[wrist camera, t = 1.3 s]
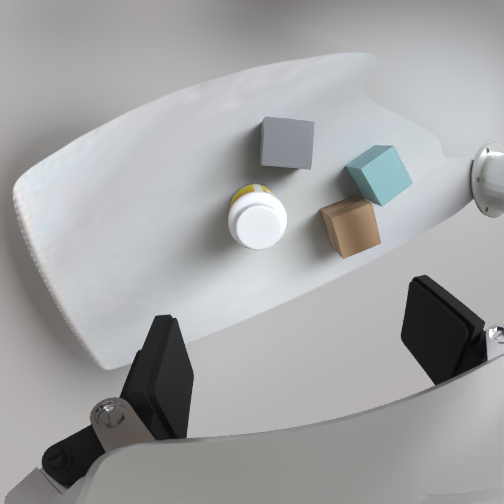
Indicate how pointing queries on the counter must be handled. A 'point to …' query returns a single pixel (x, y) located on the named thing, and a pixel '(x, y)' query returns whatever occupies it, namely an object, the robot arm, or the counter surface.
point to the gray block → (286, 143)
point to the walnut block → (351, 226)
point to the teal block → (379, 174)
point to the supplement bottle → (256, 217)
